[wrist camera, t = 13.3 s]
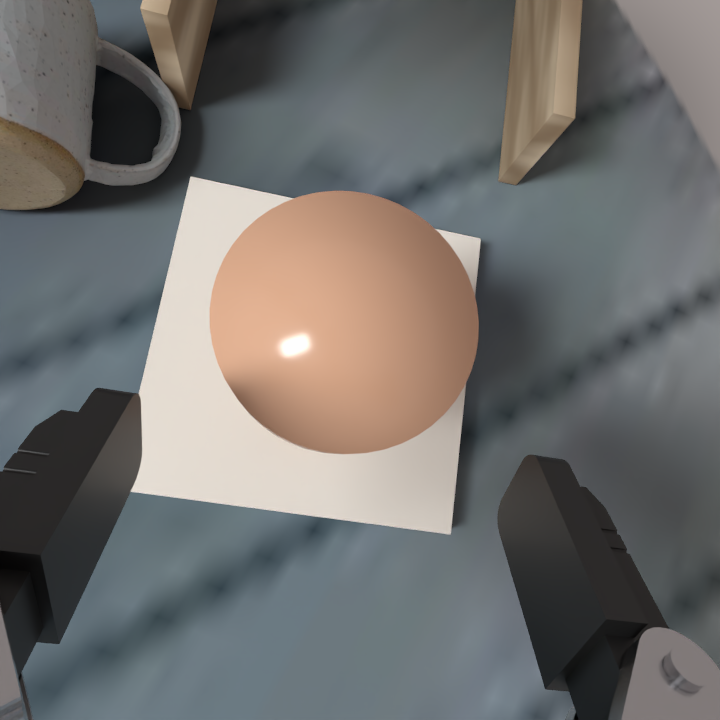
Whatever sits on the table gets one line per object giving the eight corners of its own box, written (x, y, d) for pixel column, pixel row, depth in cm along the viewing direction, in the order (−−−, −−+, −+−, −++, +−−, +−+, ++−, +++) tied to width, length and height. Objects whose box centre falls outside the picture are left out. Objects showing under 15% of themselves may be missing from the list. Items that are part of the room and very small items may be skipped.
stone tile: (123, 487, 21) (115, 489, 20) (194, 187, 24) (190, 176, 23) (443, 531, 23) (450, 534, 22) (473, 246, 26) (480, 238, 25)
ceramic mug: (-68, 223, 22) (-238, 104, 15) (-59, 56, 23) (-210, -129, 16) (188, 221, 24) (153, 115, 17) (182, 68, 25) (147, -92, 18)
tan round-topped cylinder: (225, 443, 21) (182, 431, 12) (254, 290, 23) (237, 166, 13) (383, 465, 22) (466, 472, 12) (401, 317, 24) (489, 219, 14)
